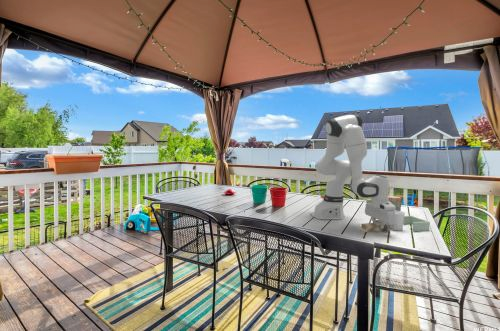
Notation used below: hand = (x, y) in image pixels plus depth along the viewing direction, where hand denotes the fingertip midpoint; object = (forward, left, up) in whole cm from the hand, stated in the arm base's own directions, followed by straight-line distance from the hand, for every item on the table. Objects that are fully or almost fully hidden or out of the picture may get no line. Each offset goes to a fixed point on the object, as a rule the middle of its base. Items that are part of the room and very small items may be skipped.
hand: (378, 226), depth 141 cm
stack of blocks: (+29, +31, -2) cm, 42 cm away
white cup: (+12, 0, -2) cm, 12 cm away
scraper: (-4, 0, -2) cm, 4 cm away
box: (+23, 0, -2) cm, 23 cm away
